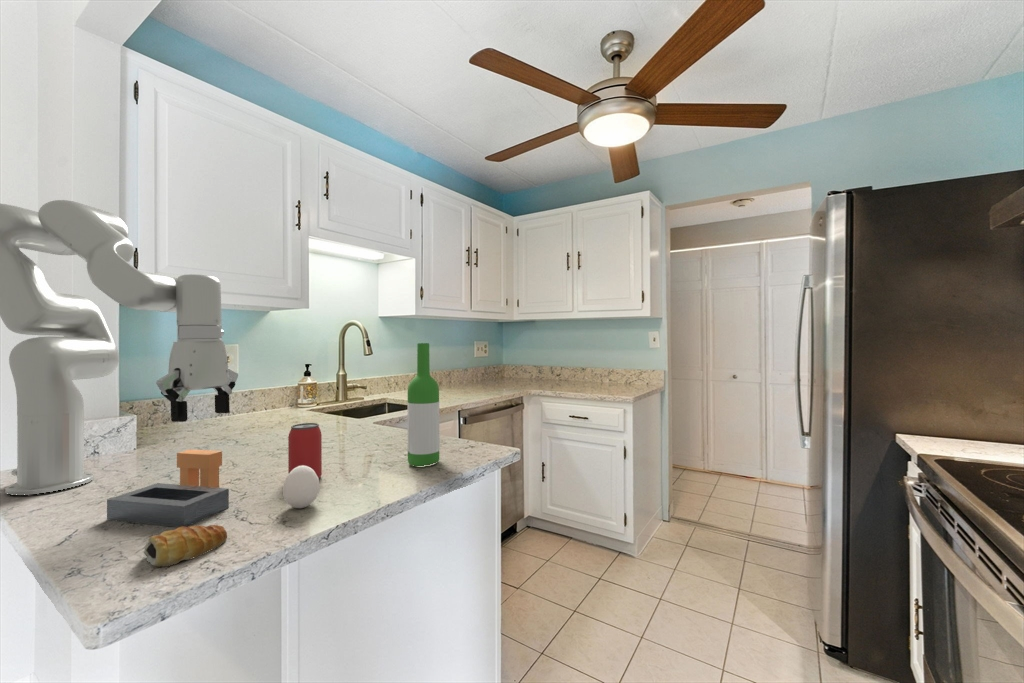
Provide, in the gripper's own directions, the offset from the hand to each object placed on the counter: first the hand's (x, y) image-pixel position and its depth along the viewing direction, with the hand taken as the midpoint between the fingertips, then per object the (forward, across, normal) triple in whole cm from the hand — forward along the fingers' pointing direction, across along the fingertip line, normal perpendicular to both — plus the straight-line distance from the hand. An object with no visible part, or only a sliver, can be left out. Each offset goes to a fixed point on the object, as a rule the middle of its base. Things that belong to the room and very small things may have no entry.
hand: (202, 416), depth 88 cm
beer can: (+15, -9, +17) cm, 25 cm away
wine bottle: (+16, -25, +38) cm, 48 cm away
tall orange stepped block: (+15, 0, -1) cm, 15 cm away
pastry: (+16, +23, +22) cm, 35 cm away
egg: (+16, +5, +27) cm, 32 cm away
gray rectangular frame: (+15, +12, +6) cm, 20 cm away
